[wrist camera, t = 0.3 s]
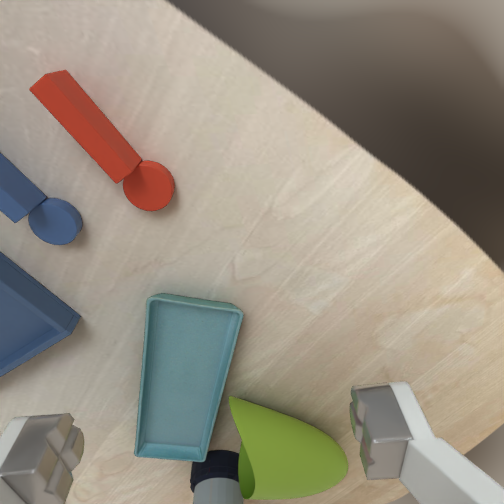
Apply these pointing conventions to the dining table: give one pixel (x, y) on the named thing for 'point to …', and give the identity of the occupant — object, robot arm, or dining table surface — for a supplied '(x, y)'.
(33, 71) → the dining table surface
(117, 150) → the red bar with disc
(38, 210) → the spoon blue
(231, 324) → the shallow long dish
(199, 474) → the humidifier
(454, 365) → the dining table surface
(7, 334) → the tray blue
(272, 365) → the dining table surface
